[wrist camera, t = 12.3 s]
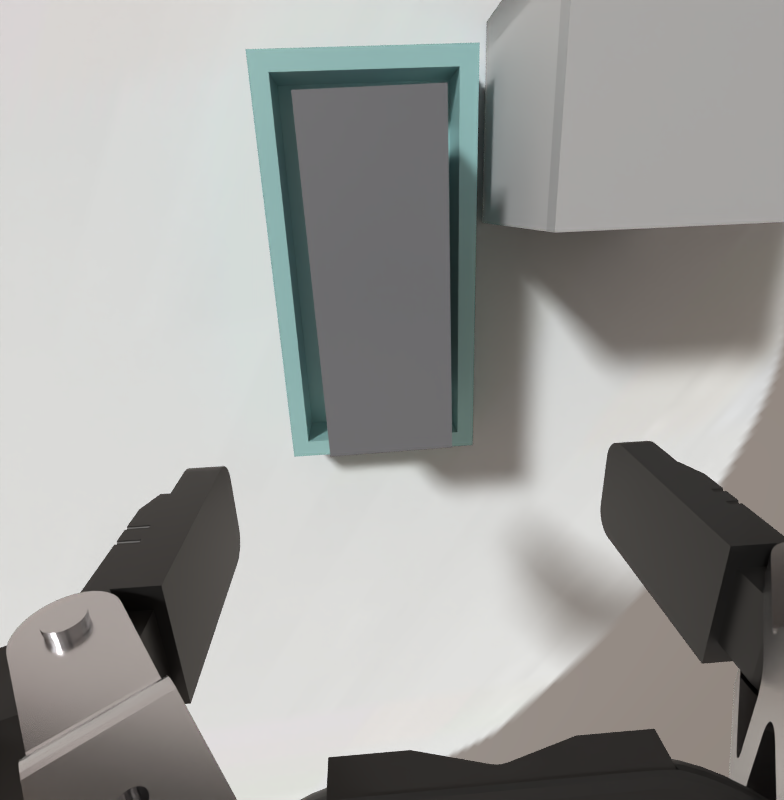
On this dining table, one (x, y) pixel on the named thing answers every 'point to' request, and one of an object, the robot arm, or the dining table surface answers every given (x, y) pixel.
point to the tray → (286, 219)
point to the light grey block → (634, 114)
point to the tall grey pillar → (379, 261)
